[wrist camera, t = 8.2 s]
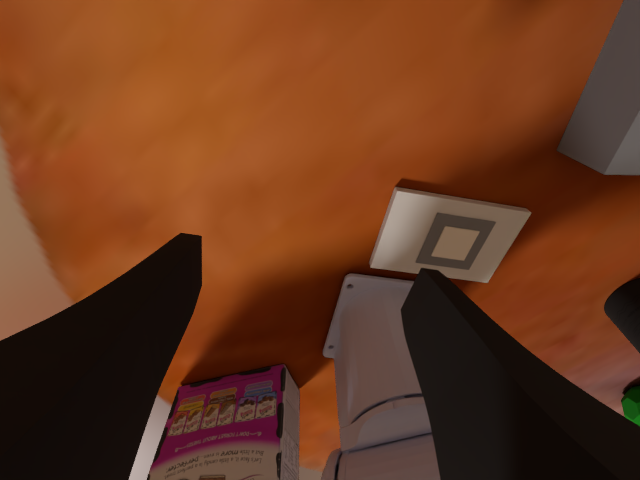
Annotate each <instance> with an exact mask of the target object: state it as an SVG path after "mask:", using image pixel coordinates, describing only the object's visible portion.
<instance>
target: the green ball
mask: <svg viewBox="0 0 640 480" xmlns="http://www.w3.org/2000/svg"><path fill="white" fill-rule="evenodd" d="M621 402H622V407H623V411H624V415H625V418H627V419H629V420H630V421H632V422H634V423H635V424H637V425H639V426H640V386H637V387H631V388H630V389H629V390H628V391H627V392H626V393H625V395H624V397H623V398H622V400H621Z"/></svg>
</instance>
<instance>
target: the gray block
mask: <svg viewBox="0 0 640 480" xmlns="http://www.w3.org/2000/svg"><path fill="white" fill-rule="evenodd" d="M556 151H558V152H560V153H562V154H564V155H566V156H568V157H570V158H572V159H574V160H576V161H578V162H580V163H582V164H584V165H586V166H588V167H590V168H592V169H594V170H596V171H598V172H600V173H602V174H604V175H640V0H624V1H623V3H622V5H621V8H620V10H619V12H618V14H617V16H616V19H615V21H614V23H613V25H612V28H611V30H610V32H609V34H608V37H607V39H606V41H605V43H604V45H603V48H602V50H601V52H600V54H599V57H598V59H597V61H596V63H595V65H594V68H593V70H592V72H591V74H590V77H589V79H588V81H587V83H586V85H585V88H584V90H583V92H582V94H581V97H580V99H579V101H578V103H577V106H576V108H575V110H574V112H573V114H572V117H571V119H570V121H569V123H568V126H567V128H566V130H565V132H564V134H563V137H562V139H561V141H560V143H559V146H558V148H557V150H556Z"/></svg>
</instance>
